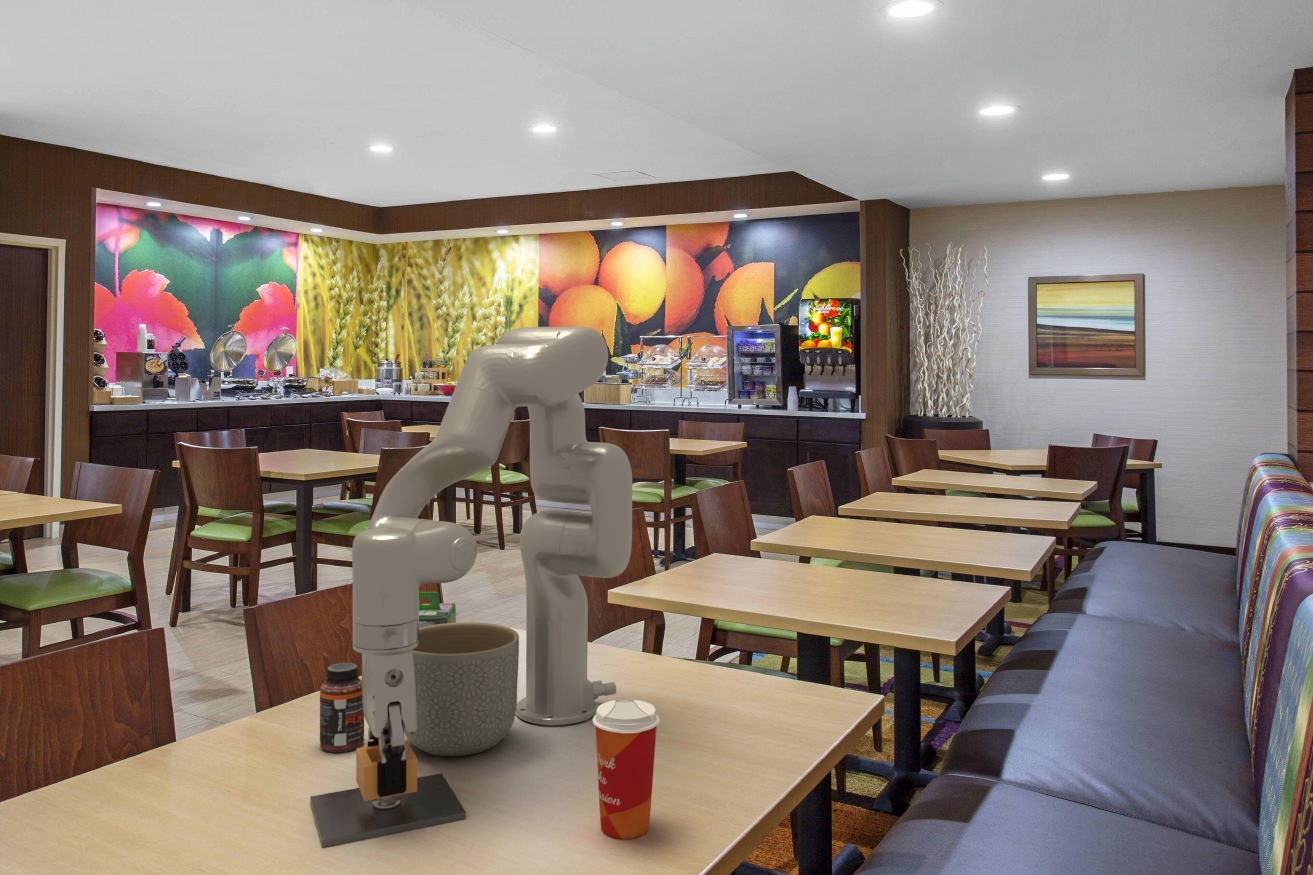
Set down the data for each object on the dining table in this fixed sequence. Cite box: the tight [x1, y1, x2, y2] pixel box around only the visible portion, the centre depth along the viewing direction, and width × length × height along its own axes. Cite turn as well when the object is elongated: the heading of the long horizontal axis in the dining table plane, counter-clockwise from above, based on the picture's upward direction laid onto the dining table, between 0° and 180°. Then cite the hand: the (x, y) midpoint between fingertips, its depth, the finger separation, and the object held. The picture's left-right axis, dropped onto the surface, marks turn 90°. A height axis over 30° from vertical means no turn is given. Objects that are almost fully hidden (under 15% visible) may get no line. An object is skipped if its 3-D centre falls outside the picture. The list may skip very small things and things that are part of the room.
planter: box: [404, 621, 520, 758], centre depth 131 cm, size 17×17×15 cm
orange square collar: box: [355, 740, 418, 801], centre depth 110 cm, size 6×6×4 cm
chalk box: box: [419, 591, 457, 628], centre depth 162 cm, size 9×9×15 cm
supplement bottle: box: [319, 662, 365, 753], centre depth 129 cm, size 6×6×11 cm
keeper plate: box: [309, 772, 467, 848], centre depth 110 cm, size 16×12×6 cm
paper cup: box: [592, 699, 660, 840], centre depth 106 cm, size 8×8×14 cm
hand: (386, 781), depth 110 cm, fingers closed on orange square collar, 6 cm apart
